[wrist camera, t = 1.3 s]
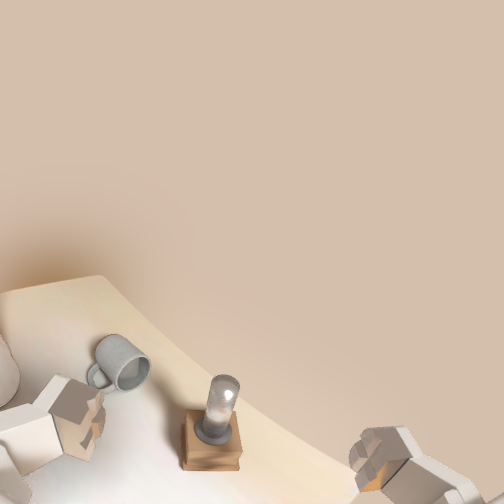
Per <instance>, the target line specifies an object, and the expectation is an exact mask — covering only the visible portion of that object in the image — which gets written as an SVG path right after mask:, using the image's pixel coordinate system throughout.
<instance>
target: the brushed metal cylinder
mask: <svg viewBox="0 0 504 504" xmlns="http://www.w3.org/2000/svg"><path fill="white" fill-rule="evenodd" d="M239 389H240V385H239V382H238V381H237V380H236V379H235V378H233V377H232V376H229V375H218V376H216V377H214V378H213V379H212V382H211V386H210V391H209V396H208V401H207V405H206V410H205V415H204V420H203V425H202V431H203V433H204V434H205V435H206V436H207V437H209V438H212V439H218V438H221V437H223V436H224V434H225V432H226V429H227V426H228V423H229V420H230V417H231V414H232V411H233V408H234V405H235V402H236V398H237V395H238V392H239Z"/></svg>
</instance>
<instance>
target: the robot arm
mask: <svg viewBox="0 0 504 504" xmlns="http://www.w3.org/2000/svg"><path fill="white" fill-rule="evenodd" d="M19 383H20V372H19V368H18V366H17V364H16V362H15V361H14V360H13V358H12V356H11V355H10V349H9V347H8V345H7V343H6V342H4V340H3V338H2V336H1V334H0V407H2V406H4V405H5V404H6V403H8V402H9V401H10V400H11V399H12V398H13V396H14V395H15V393H16V392H17V389H18V387H19ZM103 401H104V395H103V391H101V390H99V389H96V388H94V387H91V386H89V385H86V384H83V383H81V382H78V381H76V380H74V379H71V378H68V377H66V376H63V375H61V374H59V373H58V374H56V375H54V376H53V378H52V379H51V380H50V381H49V383H48V384H47V385H46V387H45V388H44V389H43V390H42V392H41V393H40V394H39V396H38V397H37V398H36V400H35V401H34V402H33V404H32V405H31V404H29V403H26V404H23V405H20V406H17V407H13V408H10V409H7V410H4V411H1V412H0V504H28V503H29V501H30V498H31V496H32V492H31V490H30V489H29V487H28V486H27V484H26V483H25V481H24V479H23V478H22V477H24V476H26V475H28V474H29V473H31V472H33V471H35V470H37V469H38V468H40V467H42V466H44V465H45V464H47V463H49V462H51V461H52V460H54V459H56V458H57V457H59V456H61V455H62V454H63V452H64V453H66V454H69V455H71V456H74V457H76V458H79V459H82V460H84V461H87V462H89V461H90V459H91V456H92V454H93V452H94V449H95V447H96V446H95V441H94V439H96V438H98V437H100V436H101V433H102V431H103V427H104V423H105V409H104V408H103V407H102V403H103ZM360 438H361V440H360V441H358V442H357V443H355V444H354V445H353V447H352V448H351V450H350V454H349V464H350V467H351V469H352V470H354V471H355V472H356V473H357V474H356V476H355V481H356V483H357V486H358V489H359V491H360V492H368V491H375V490H381V492H382V493H384V494H385V495H386V496H387V497H388V498H389V499H390V500H391V501H392V502H393V503H395V504H504V493H502V494H501V495H499V496H497V497H496V498H494V499H493V500H491V501H489V502H487V503H485V502H484V500H483V498H482V497H481V495H480V493H479V492H478V490H477V489H476V487H475V486H474V484H473V482H472V481H471V480H469V479H467V478H465V477H464V476H462V475H460V474H458V473H457V472H455V471H453V470H451V469H450V468H448V467H446V466H444V465H443V464H441V463H439V462H438V461H436V460H434V459H433V458H431V457H429V456H428V455H423V453H422V452H421V450H420V448H419V447H418V445H417V443H416V442H415V440H414V438H413V437H412V435H411V434H410V432H409V430H408V429H407V427H405V426H404V425H402V426H392V427H377V428H367V429H365V430H364V431H363V432H362V433H361V435H360Z"/></svg>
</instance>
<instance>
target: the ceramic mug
mask: <svg viewBox="0 0 504 504" xmlns="http://www.w3.org/2000/svg"><path fill="white" fill-rule="evenodd" d="M95 359H96V361H97V362H96V364H94V365H93V366H92V367H91V369H90V370H89V372H88V378H87V379H88V383H89V385H90V386H91V387H94V388H96V389H97V387H96V386H95V384H94V381H93V376H94V374H95V373H96V371H97V370H98V369H99V368H101V369H102V370H103V372H104V373H105V374H106V375H107V377H108V378H109V379H110V381H111V382H112V384H111V385H110V386H108V387H106V388H103V389H99V390H101V391H103V394H108V393H110V392H112V391H114V390H115V389H118V390H120V391H122V392H129V391H132V390H135V389H136V388H138V387H140V386H141V385H142V384H143V383H144V382H145V380H146V379H147V378H148V376H149V374H150V371H151V361H150V359H149V358H148V357H147V356H146V355H145V354H144V353H143V352H141V351H140V350H139V349H138V348H137V347H135V346H134V345H133V344H132V343H131V342H130V341H128V340H127V339H126V338H124V337H123V336H121V335H118V334H110V335H108V336H106V337H104V338H103V339H102V340H101V341H100V342H99V343H98V345H97V347H96V349H95Z"/></svg>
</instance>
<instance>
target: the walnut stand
mask: <svg viewBox="0 0 504 504" xmlns="http://www.w3.org/2000/svg"><path fill="white" fill-rule="evenodd" d="M204 415H205V411H202V410H187V411H186V420H185V424H181V440H182V462H183V470H186V471H239V469H240V467H239V462H238V460H239V458H240V456H241V454H242V452H243V451H242V446H241V440H240V435H239V429H238V424H237V418H236V412H235V411H232V414H231V417H230V420H229V423H228V426H227V429H226V432H225V434H224V436H223V437H221V438H218V439H212V438H209V437H207V436H206V435H205V434H204V433H203V431H202V425H203V420H204Z"/></svg>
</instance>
